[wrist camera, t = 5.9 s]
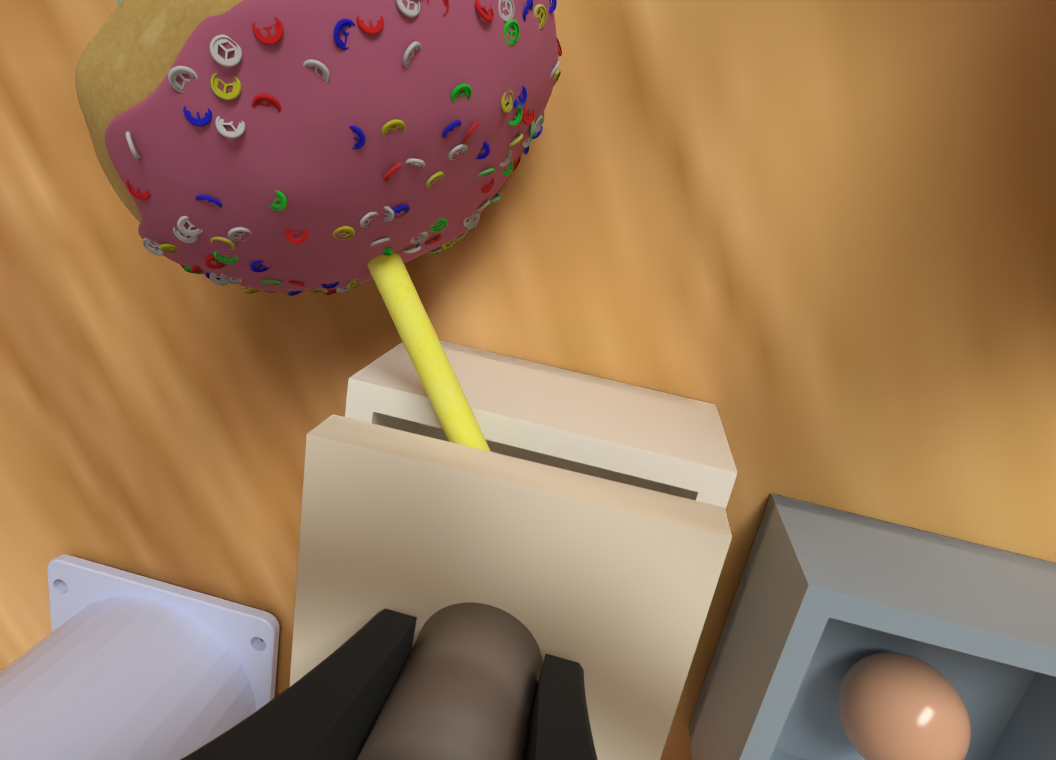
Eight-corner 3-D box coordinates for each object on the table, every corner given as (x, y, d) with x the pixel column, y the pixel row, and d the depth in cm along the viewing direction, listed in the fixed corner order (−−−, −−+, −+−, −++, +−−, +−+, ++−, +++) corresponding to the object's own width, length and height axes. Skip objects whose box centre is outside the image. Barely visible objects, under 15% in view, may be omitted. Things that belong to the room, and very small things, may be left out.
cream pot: (638, 655, 19) (637, 774, 15) (380, 583, 20) (318, 680, 16) (715, 404, 16) (737, 472, 12) (413, 334, 17) (348, 378, 13)
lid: (630, 807, 14) (625, 1043, 10) (308, 712, 15) (191, 898, 11) (724, 507, 11) (765, 669, 8) (333, 413, 12) (193, 519, 8)
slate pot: (966, 805, 18) (1049, 966, 15) (688, 726, 19) (699, 859, 15) (1097, 573, 16) (1240, 696, 12) (770, 493, 17) (808, 585, 13)
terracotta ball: (915, 728, 17) (965, 827, 15) (810, 698, 18) (839, 790, 15) (957, 645, 16) (1018, 734, 14) (845, 615, 17) (883, 697, 14)
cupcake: (324, 103, 18) (545, 464, 17) (-57, 82, 12) (257, 657, 11) (502, -212, 13) (845, 291, 12) (-34, -574, 6) (620, 478, 5)
